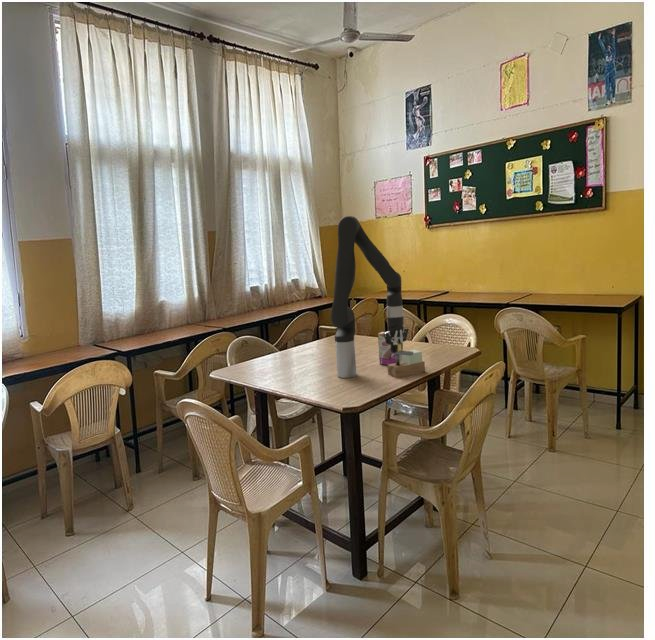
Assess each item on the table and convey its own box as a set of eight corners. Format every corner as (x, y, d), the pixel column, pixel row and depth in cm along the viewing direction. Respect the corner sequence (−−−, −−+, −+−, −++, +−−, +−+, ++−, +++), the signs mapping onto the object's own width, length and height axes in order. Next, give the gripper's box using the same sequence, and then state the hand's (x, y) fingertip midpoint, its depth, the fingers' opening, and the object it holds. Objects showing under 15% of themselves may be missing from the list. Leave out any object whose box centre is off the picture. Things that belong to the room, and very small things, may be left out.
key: (393, 363, 239) (392, 342, 238) (414, 365, 232) (412, 344, 231) (391, 364, 238) (389, 343, 236) (411, 366, 231) (410, 345, 229)
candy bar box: (379, 364, 259) (377, 333, 256) (383, 362, 263) (382, 331, 260) (399, 366, 252) (397, 334, 250) (403, 364, 256) (401, 332, 254)
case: (388, 374, 239) (387, 364, 238) (416, 369, 245) (416, 359, 245) (395, 378, 233) (395, 367, 232) (425, 372, 239) (424, 361, 238)
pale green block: (402, 362, 241) (402, 351, 240) (415, 359, 244) (414, 349, 243) (409, 364, 236) (409, 354, 235) (422, 362, 238) (421, 351, 237)
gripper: (401, 312, 240) (402, 348, 243) (378, 316, 232) (380, 353, 235) (412, 313, 234) (413, 350, 236) (388, 318, 226) (390, 355, 229)
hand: (396, 351), depth 236 cm, fingers open, 3 cm apart
